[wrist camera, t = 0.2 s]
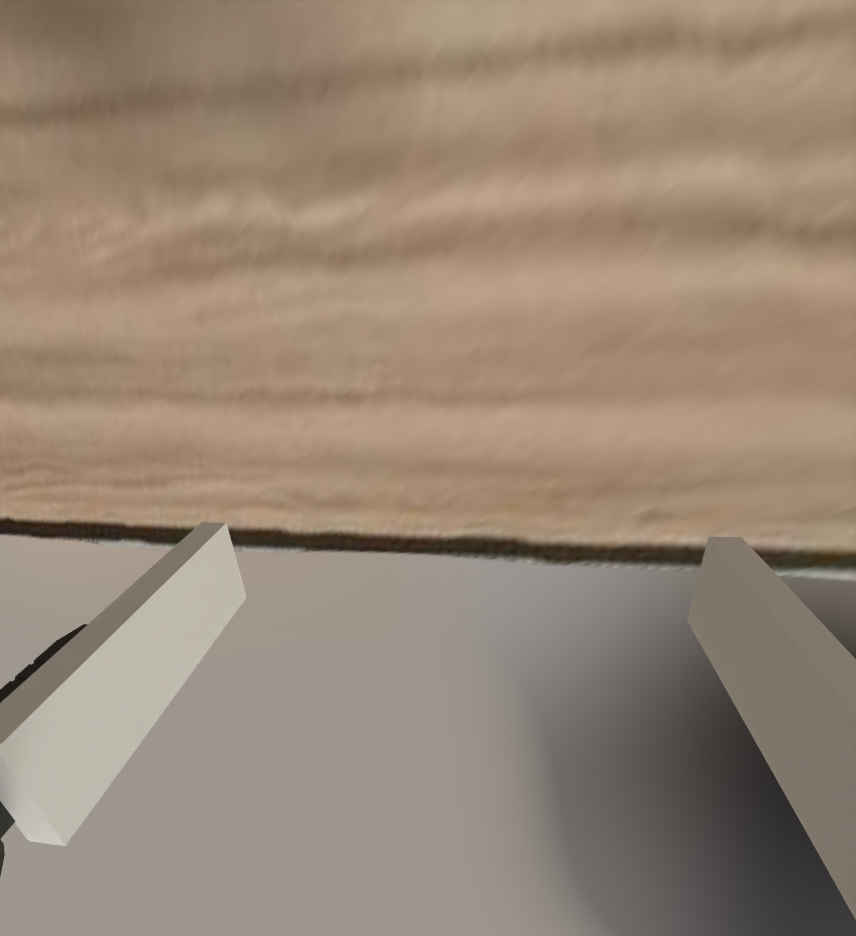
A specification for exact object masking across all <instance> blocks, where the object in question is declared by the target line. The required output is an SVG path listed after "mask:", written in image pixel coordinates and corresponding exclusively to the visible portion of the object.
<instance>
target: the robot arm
mask: <svg viewBox="0 0 856 936" xmlns="http://www.w3.org/2000/svg"><path fill="white" fill-rule="evenodd" d="M245 599H246V593H245V590H244V586H243V582H242V579H241V575H240V571H239V568H238V564H237V560H236V557H235V553H234V549H233V546H232V542H231V539H230V535H229V531H228V528H227V524H226V523H210V522H202V523H201V524H200V525H198V526H197V527H196V528H195V529H194V530H193V531H192V532H191V533H189V534H188V535H187V536H186V537H185V538H184V539H183V540H182V541H181V542H179V543H178V544H177V545H176V546H175V547H174V548H173V549H172V550H171V551H169V552H168V553H167V554H166V555H165V556H164V557H163V558H162V559H160V560H159V561H158V562H157V563H156V564H155V565H154V566H153V567H152V568H150V570H148V571H147V572H146V573H145V574H144V575H143V576H142V577H140V578H139V579H138V580H137V581H136V582H135V583H134V584H133V585H132V586H130V587H129V588H128V589H127V590H126V591H125V592H124V593H123V594H121V596H119V597H118V598H117V599H116V600H115V601H114V602H113V603H111V604H110V605H109V606H108V607H107V608H106V609H105V610H104V611H102V612H101V613H100V614H99V615H98V616H97V617H96V618H95V619H94V620H92V621H91V622H90V623H89V624H88V625H87V624H84V625H82V626H80V627H79V628H77V629H75V630H74V631H72V632H70V633H69V634H67V635H65V636H64V637H62V638H60V639H59V640H57V641H56V642H55V643H54V644H53V645H51V646H50V647H49V648H48V649H47V650H46V651H45V652H43V653H42V654H41V655H40V656H39V657H37V658H36V659H35V660H34V663H33V664H32V665H31V664H29V665H28V666H27V667H26V668H25V669H24V670H23V671H21V672H20V673H19V674H18V675H17V676H16V677H15V680H14V681H10V682H9V683H7V684H6V685H5V686H4V687H3V688H2V689H1V690H0V839H1V838H2V836H3V835H4V834H5V833H6V832H7V830H8V829H9V828H10V827H11V826H12V825H13V823H14V822H15V824H16V825H17V826H18V828H19V829H20V830H21V831H22V833H23V834H24V835H25V837H26V838H27V839H28V841H33V842H40V843H48V844H55V845H62V846H66V844H67V843H68V841H69V840H70V839H71V838H72V836H73V835H74V833H75V832H76V831H77V829H78V828H79V826H80V825H81V824H82V823H83V821H84V820H85V818H86V817H87V816H88V814H89V813H90V812H91V810H92V809H93V807H94V806H95V805H96V803H97V802H98V800H99V799H100V798H101V796H102V795H103V794H104V792H105V791H106V790H107V788H108V787H109V785H110V784H111V783H112V781H113V780H114V779H115V777H116V776H117V774H118V773H119V772H120V770H121V769H122V768H123V766H124V765H125V763H126V762H127V761H128V759H129V758H130V757H131V755H132V754H133V752H134V751H135V750H136V748H137V747H138V746H139V744H140V743H141V741H142V740H143V739H144V737H145V736H146V735H147V733H148V732H149V731H150V729H151V728H152V726H153V725H154V724H155V722H156V721H157V720H158V718H159V717H160V715H161V714H162V713H163V711H164V710H165V708H166V707H167V706H168V704H169V703H170V702H171V700H172V699H173V698H174V696H175V695H176V693H177V692H178V691H179V689H180V688H181V687H182V685H183V684H184V682H185V681H186V679H187V678H188V677H189V676H190V674H191V673H192V671H193V670H194V669H195V667H196V666H197V665H198V663H199V662H200V661H201V659H202V658H203V656H204V655H205V654H206V652H207V651H208V650H209V648H210V647H211V645H212V644H213V643H214V641H215V640H216V639H217V637H218V636H219V634H220V633H221V632H222V630H223V629H224V628H225V626H226V625H227V623H228V622H229V621H230V619H231V618H232V617H233V615H234V614H235V612H236V611H237V610H238V608H239V607H240V606H241V604H242V603H243V601H244V600H245ZM687 621H688V622H689V624H690V626H691V628H692V630H693V631H694V633H695V635H696V637H697V638H698V640H699V642H700V644H701V646H702V647H703V649H704V651H705V653H706V654H707V656H708V658H709V660H710V661H711V663H712V665H713V667H714V669H715V670H716V672H717V674H718V676H719V677H720V679H721V681H722V683H723V685H724V686H725V688H726V690H727V692H728V694H729V695H730V697H731V699H732V701H733V702H734V704H735V706H736V708H737V710H738V711H739V713H740V715H741V716H742V718H743V720H744V722H745V724H746V725H747V727H748V729H749V731H750V733H751V734H752V736H753V738H754V740H755V742H756V743H757V745H758V747H759V749H760V750H761V752H762V754H763V756H764V757H765V759H766V761H767V763H768V764H769V766H770V768H771V770H772V772H773V773H774V775H775V777H776V779H777V781H778V782H779V784H780V786H781V788H782V789H783V791H784V793H785V795H786V796H787V798H788V800H789V802H790V804H791V805H792V807H793V809H794V811H795V813H796V814H797V816H798V818H799V820H800V821H801V823H802V825H803V827H804V828H805V830H806V832H807V834H808V836H809V837H810V839H811V841H812V843H813V845H814V846H815V848H816V850H817V852H818V853H819V855H820V857H821V859H822V860H823V862H824V864H825V866H826V868H827V869H828V871H829V873H830V875H831V876H832V878H833V880H834V882H835V884H836V885H837V887H838V889H839V891H840V892H841V894H842V896H843V898H844V899H845V901H846V903H847V905H848V907H849V908H850V910H851V912H852V914H853V916H854V917H855V919H856V659H855V658H854V657H853V656H852V655H851V654H850V653H849V652H848V651H847V650H846V649H845V648H844V647H843V645H842V644H841V643H840V642H839V641H838V640H837V639H836V638H835V637H834V636H833V635H832V634H831V633H830V632H829V631H828V630H827V628H826V627H825V626H824V625H823V624H822V623H821V622H820V621H819V620H818V619H817V618H816V617H815V615H814V614H813V613H812V612H811V611H810V610H809V609H808V608H807V607H806V606H805V605H804V604H803V603H802V602H801V601H800V600H799V598H798V597H797V596H796V595H795V594H794V593H793V592H792V591H791V590H790V589H789V588H788V587H787V586H786V584H785V583H784V582H783V581H782V580H781V579H780V578H779V577H778V576H777V575H776V574H775V573H774V572H773V571H772V569H771V568H770V567H769V566H768V565H767V564H766V563H765V562H764V561H763V560H762V559H761V558H760V557H759V556H758V555H757V553H756V552H755V551H754V550H753V549H752V548H751V547H750V546H749V545H748V544H747V543H746V542H745V541H744V540H743V538H740V537H709V538H708V542H707V545H706V549H705V553H704V557H703V561H702V565H701V568H700V572H699V576H698V580H697V584H696V588H695V592H694V596H693V599H692V603H691V607H690V611H689V615H688V619H687ZM3 860H4V844H3V842H2V841H1V840H0V875H1V870H2V865H3Z"/></svg>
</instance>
